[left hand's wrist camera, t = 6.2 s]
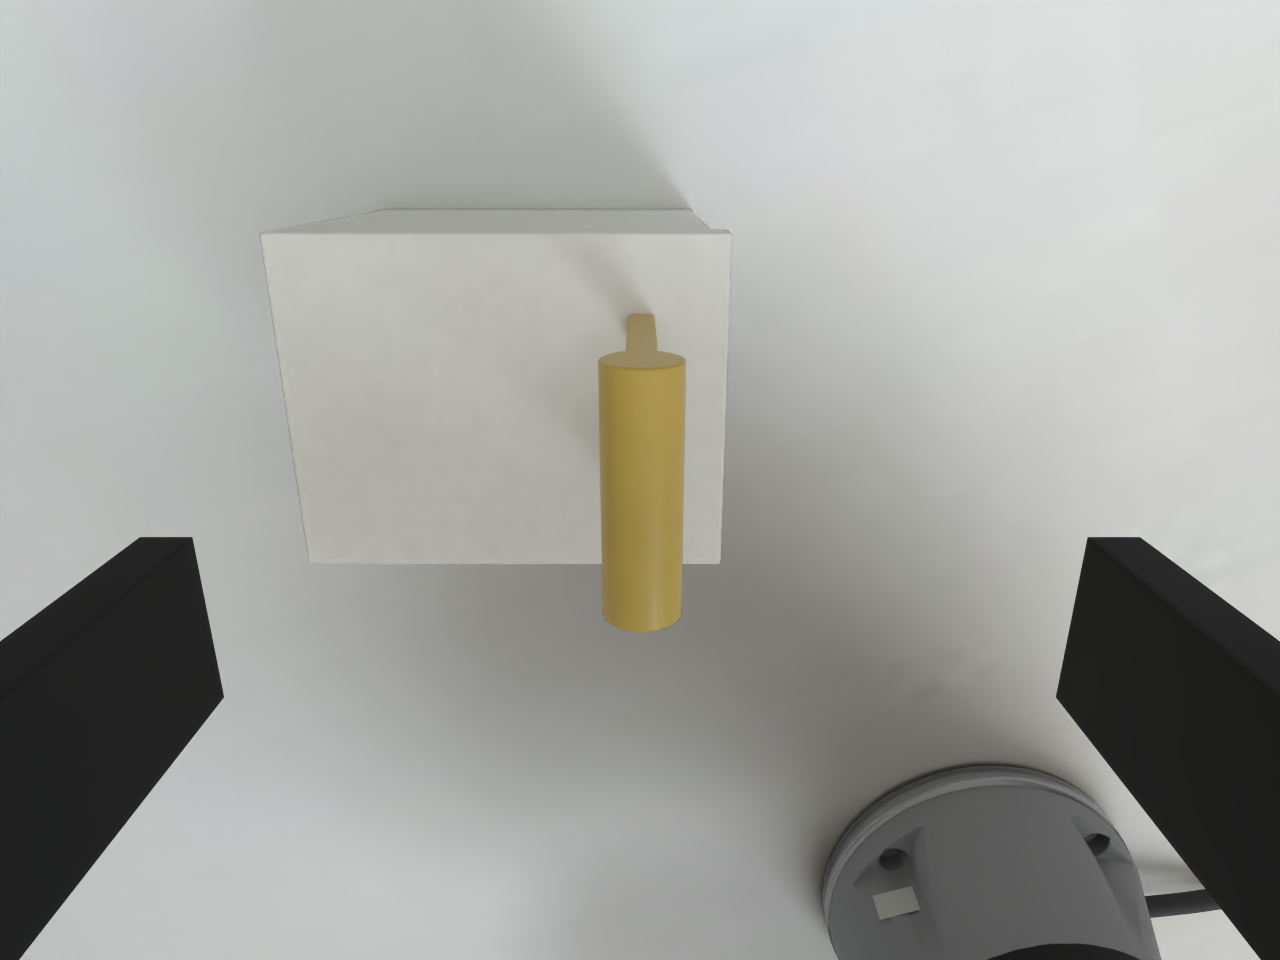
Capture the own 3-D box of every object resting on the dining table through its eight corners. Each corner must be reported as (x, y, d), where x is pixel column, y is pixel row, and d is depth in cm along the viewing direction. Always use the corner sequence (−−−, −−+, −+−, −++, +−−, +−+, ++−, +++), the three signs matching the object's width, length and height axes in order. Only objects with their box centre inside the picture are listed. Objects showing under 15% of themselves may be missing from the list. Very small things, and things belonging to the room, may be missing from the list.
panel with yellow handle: (728, 229, 23) (774, 262, 15) (717, 550, 26) (750, 710, 18) (273, 229, 23) (88, 262, 15) (319, 550, 26) (186, 711, 18)
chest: (691, 209, 33) (713, 228, 23) (686, 445, 36) (704, 550, 26) (383, 209, 33) (273, 228, 23) (406, 445, 36) (319, 550, 26)
